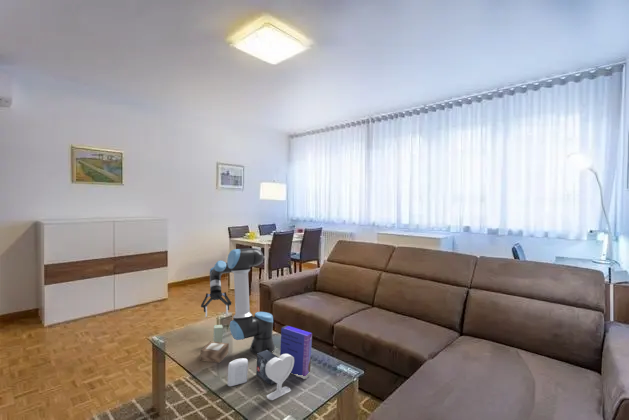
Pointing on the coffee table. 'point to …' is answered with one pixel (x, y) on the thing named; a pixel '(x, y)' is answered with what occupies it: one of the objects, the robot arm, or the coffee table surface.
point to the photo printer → (237, 371)
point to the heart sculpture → (279, 373)
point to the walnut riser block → (214, 351)
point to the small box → (264, 365)
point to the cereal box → (297, 348)
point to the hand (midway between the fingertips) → (216, 315)
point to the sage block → (218, 333)
